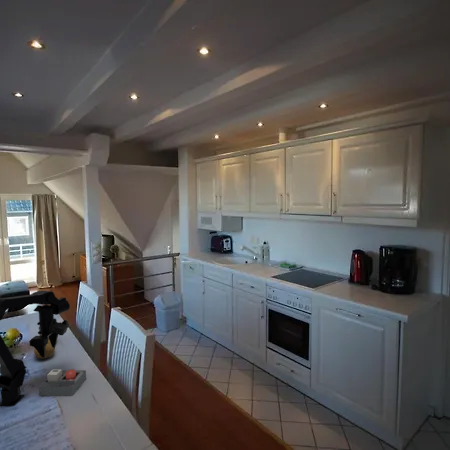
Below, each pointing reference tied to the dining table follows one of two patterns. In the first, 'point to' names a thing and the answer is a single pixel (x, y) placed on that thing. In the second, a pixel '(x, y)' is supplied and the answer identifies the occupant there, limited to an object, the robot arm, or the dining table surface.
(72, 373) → the button
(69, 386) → the grey flat box
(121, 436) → the dining table surface
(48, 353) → the potato
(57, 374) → the on key
